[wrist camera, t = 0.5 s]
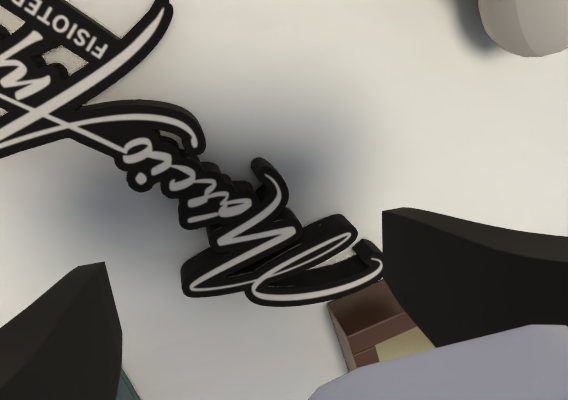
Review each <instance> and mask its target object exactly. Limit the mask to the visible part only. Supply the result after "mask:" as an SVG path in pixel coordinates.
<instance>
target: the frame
mask: <svg viewBox="0 0 568 400" xmlns="http://www.w3.org/2000/svg"><path fill="white" fill-rule="evenodd" d="M327 306H328V309H329V312H330V315H331V318H332V321H333V324H334V327H335V330H336V333H337V336H338V339H339V342H340V345H341V348H342V351H343V354H344V357H345V360H346V363H347V366H348V369H349V372H351V371H353V370H355V369H357V368H359V367H362V366H366V365H370V364H374V363H378V362H382V361H386V360H390V359H394V358H398V357H402V356H406V355H410V354H414V353H418V352H422V351H427V350H431V349H435V348H436V347H435V346H434V345H433V344H432V343H431V342H430V340H429V339H428V338H427V337H426V336H425V335H424V333H423V332H422V331H421V330H420V329H419V328H418V326H417V325H416V324H415V323H414V322H413V320H412V319H411V318H410V317H409V316H408V315H407V313H406V312H405V311H404V310H403V308H402V307H401V306H400V305H399V303H398V302H397V300H396V298H395V297H394V295H393V294H392V292H391V290H390V289H389V287H388V285H387V284H386V282H385V280H382V281H380V282H377V283H375V284H373V285H370V286H368V287H366V288H364V289H363V290H360V291H358V292H355V293H352V294H350V295H347V296H344V297H342V298H340V299H337V300H335V301H333V302H330V303H328V304H327Z"/></svg>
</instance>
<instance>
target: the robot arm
mask: <svg viewBox="0 0 568 400" xmlns="http://www.w3.org/2000/svg"><path fill="white" fill-rule="evenodd" d="M382 243H383V279H384V280H385V282H386V284H387V285H388V287H389V289H390V290H391V292H392V294H393V295H394V297H395V298H396V300H397V302H398V303H399V305H400V306H401V307H402V308H403V310H404V311H405V312H406V313H407V315H408V316H409V317H410V318H411V319H412V320H413V322H414V323H415V324H416V325H417V326H418V328H419V329H420V330H421V331H422V332H423V333H424V335H425V336H426V337H427V338H428V339H429V340H430V342H431V343H432V344H433V345H434V346H435V347H436V348H435V349H431V350H427V351H422V352H418V353H414V354H410V355H406V356H402V357H398V358H394V359H390V360H386V361H382V362H378V363H374V364H370V365H366V366H362V367H359V368H357V369H355V370H353V371H351V372H349V373H347V374H345V375H343V376H340V377H338V378H336V379H334V380H332V381H330V382H328V383H326V384H324V385H322V386H320V387H318V388H317V390H316V391H315V392H314V393H313V394H312V395H311V397H310V398H309V399H308V400H568V237H565V236H554V235H546V234H538V233H530V232H523V231H517V230H511V229H506V228H500V227H495V226H490V225H485V224H481V223H476V222H472V221H468V220H463V219H459V218H455V217H451V216H447V215H443V214H438V213H434V212H430V211H425V210H420V209H415V208H405V207H402V208H397V209H391V210H386V211H382ZM121 365H122V329H121V325H120V321H119V317H118V313H117V309H116V305H115V301H114V298H113V294H112V290H111V286H110V282H109V278H108V274H107V270H106V266H105V262H99V263H94V264H88V265H83V266H78V267H76V268H75V269H73V270H72V271H70V272H69V273H68V274H67V275H65V276H64V277H63V278H62V279H61V280H59V281H58V282H57V283H56V284H55V285H53V286H52V287H51V288H50V289H49V290H48V291H46V292H45V293H44V294H43V295H42V296H40V297H39V298H38V299H37V300H36V301H35V302H33V303H32V304H31V305H30V306H28V307H27V308H26V309H25V310H23V311H22V312H21V313H19V314H18V315H17V316H15V317H14V318H13V319H12V320H10V321H9V322H8V323H6V324H5V325H4V326H2V327H1V328H0V400H116V397H117V391H118V385H119V379H120V373H121Z"/></svg>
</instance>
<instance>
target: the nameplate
mask: <svg viewBox="0 0 568 400" xmlns="http://www.w3.org/2000/svg"><path fill="white" fill-rule="evenodd" d="M0 5H1V6H2V7H4V8H5V9H7V10H8V11H10V12H12V13H13V14H15V15H16V16H18V17H19V18H21V19H22V20H24V21H26V23H25V24H24V25H23V26H22V27H20V28H19V29H18V30H17V31H15V32H14V33H13V34H11V35H10V33H9V32H8V30H7V29H6V28H5V27H3V26H2V25H0V108H3V109H5V110H6V111H8V113H6V114H5V115H3V116H1V117H0V158H3V157H7V156H10V155H11V154H14V153H17V152H20V151H24V150H27V149H31V148H34V147H37V146H41V145H44V144H47V143H50V142H54V141H57V140H60V139H64V138H71V139H73V140H75V141H77V142H79V143H81V144H84V145H86V146H88V147H91V148H93V149H95V150H98V151H100V152H102V153H104V154H107V155H109V156H111V157H113V158H114V160H115V164H116V166H117V167H118V168H119V169H121V170H123V171H126V172H128V173H127V178H126V179H127V182H128V185H129V186H130V188H132V189H133V190H134V191H137V192H146V191H148V190H150V189H151V188H152V187H153V185H154V184H156V183H157V182H160V183H161V190H162V193H163V194H164V195H165V196H166V197H168V198H172V199H174V198H179V206H178V214H179V223H180V225H181V227H183V228H184V229H187V230H194V229H199V228H202V227H206V230H207V235H208V239H209V244H210V246H211V247H210V248H208V249H206V250H204V251H202V252H201V253H199V254H197V255H196V256H194V257H192V258H191V259H189V260H188V261H187V262H185V263H184V264H183V266H182V268H181V284H182V291H183V293H184V294H185V295H186V296H188V297H193V298H199V297H211V296H219V295H225V294H231V293H236V292H240V291H244V292H245V294H246V296H247V298H248V299H249V300H250V301H251V302H253V303H255V304H258V305H263V306H272V307H290V306H301V305H308V304H315V303H320V302H325V301H329V300H334V299H338V298H341V297H344V296H347V295H350V294H352V293H355V292H358V291H360V290H363V289H364V288H366V287H368V286H370V285H372V284H374V283H375V282H377V281H378V280H380V279H381V278H382V277H383V253H382V252H381V251H380V250H379V249H378V248H377V247H376V246H375V245H374V244H373V243H372V242H371V241H369V240H365V239H362V240H361V241H360V242H359V243H357V244H356V245H355V246H354V247H353V250H354V251H355V252H356V253H357V255H355V256H353V257H351V258H349V259H347V260H344V261H342V262H339V263H336V264H334V265H329V266H325V267H322V268H318V269H313V270H307V269H309V268H311V267H314V266H316V265H318V264H320V263H322V262H324V261H325V260H327V259H329V258H331V257H332V256H334V255H336V254H338V253H339V252H341V251H343V250H344V249H346V248H347V247H349V246H350V245H351V244H352V243H353V242H354V241H355V240H356V238H357V235H358V232H357V230H356V228H355V227H354V226H353V225H352V224H351V223H350V222H349V221H348V220H347V219H346V218H345V217H344V216H343V215H340V214H337V215H332V216H329V217H327V218H324V219H322V220H320V221H317V222H314V223H313V224H311V225H308V226H306V227H304V228H302V225H301V223H300V222H299V221H298V219H297V218H296V216H295V215H294V214H293V212H292V211H291V210H290V209H289V208H285V206H286V204H287V202H288V199H289V192H288V188H287V185H286V183H285V181H284V179H283V178H282V176H281V175H280V174H279V173H278V171H277V170H276V169H275V168H274V167H273V165H271V164H270V163H269V162H268V161H266V160H265V159H263V158H260V157H259V158H255V159H254V160H253V161H252V162H251V169H252V170H253V172H254V174H255V175H256V177H257V178H258V180H259V181H260V182H261V183H263V184H262V186H261V187H259V188H258V189H257V190H256V192H255V191H254V189H253V187H252V186H251V184H250V183H249V182H246V181H237V180H236V181H232V180H231V178H230V177H229V176H228V175H226V174H221V172H220V169H219V167H218V166H217V165H216V164H215V163H212V162H205V161H204V162H201V161H200V159H199V158H198V156H197V155H200V154H201V153H203V152H204V150H205V148H206V141H205V136H204V133H203V131H202V128H201V126H200V124H199V122H198V120H197V119H196V118H195V116H194V115H193V114H192V113H190V112H189V111H188V110H186V109H184V108H183V107H180V106H177V105H174V104H171V103H166V102H160V101H153V100H141V99H139V100H121V101H112V102H104V103H99V104H93V105H87V106H81V105H82V104H84V103H86V102H87V101H89V100H90V99H92V98H94V97H95V96H97V95H98V94H100V93H101V92H102V91H104V90H105V89H107V88H108V87H110V86H111V85H112V84H114V83H115V82H117V81H118V80H119V79H120V78H122V77H123V76H124V75H126V74H127V73H128V72H129V71H131V70H132V69H133V68H134V67H135V66H137V65H138V64H139V63H140V62H141V61H142V60H143V59H144V58H145V57H146V56H147V55H148V54H149V53H150V52H151V51H152V50H153V49H154V47H155V46H156V45H157V44H158V42H159V41H160V40H161V38H162V37H163V35H164V34H165V32H166V30H167V28H168V26H169V24H170V21H171V19H172V15H173V7H172V5H171V4H170V3H169V0H155V1H154V3H153V5H152V7H151V8H150V10H149V11H148V12H147V13H146V15H145V16H144V17H143V18H142V19H141V20H140V21H139V22H138V23H137V24H136V25H135V26H134V27H133V28H132V29H131V30H130V31H129V32H128V33H127V34H126V35H125V36H124V37H123V38H122V39H120V38H118V37H117V36H115V35H114V34H113V33H111V32H110V31H109V30H107V29H106V28H104V27H103V26H101V25H100V24H99V23H97V22H96V21H94V20H93V19H91V18H90V17H88V16H87V15H85V14H84V13H82V12H81V11H80V10H78V9H77V8H75V7H74V6H72V5H71V4H69V3H68V2H66V1H65V0H0ZM60 44H61V45H63V46H64V47H66V48H67V49H69V50H70V51H72V52H74V53H75V54H77V55H78V56H80V57H81V58H83V59H84V60H86V61H87V62H89V63H88V64H87V65H86V66H84V67H83V68H81V69H80V70H78V71H77V72H75V73H73V74H72V75H70V76H69V75H68V72H67V69H66V68H65V67H64V66H63V65H62V64H60V63H53V64H49V65H47V64H46V62H45V60H44V59H43V58H42V56H41V55H42V54H43V53H45V52H47V51H50V50H51V49H53V48H57V47H58V46H60ZM159 130H161V131H166V132H170V133H173V134H175V135H178V136H179V137H181V139H182V144H183V146H184V149H185V150H184V149H180V148H179V146H178V143H177V142H176V141H175V140H174V139H172V138H169V137H165V136H161V135H160V132H159ZM305 270H307V271H305Z"/></svg>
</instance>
